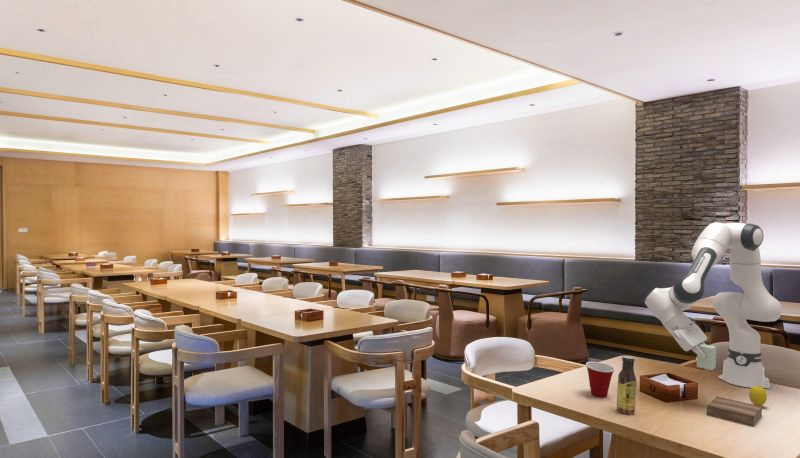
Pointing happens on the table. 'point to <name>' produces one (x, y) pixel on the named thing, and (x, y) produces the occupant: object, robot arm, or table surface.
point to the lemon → (757, 395)
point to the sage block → (707, 357)
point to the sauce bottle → (627, 387)
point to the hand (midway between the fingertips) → (707, 355)
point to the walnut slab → (734, 411)
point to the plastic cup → (599, 378)
